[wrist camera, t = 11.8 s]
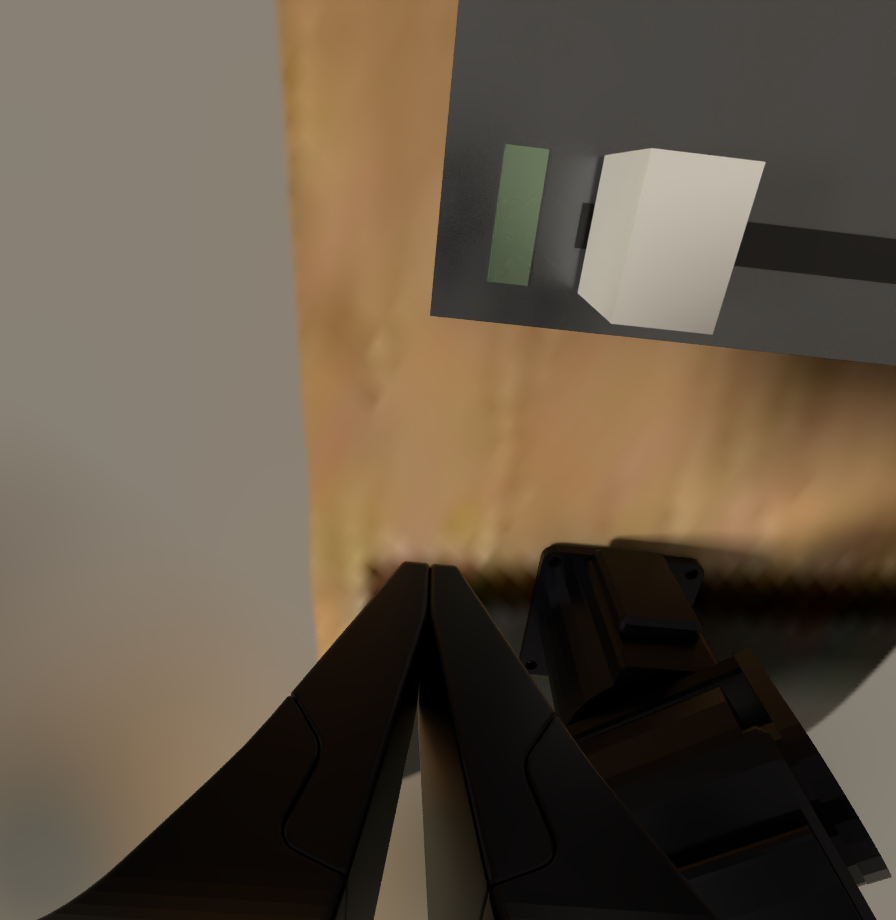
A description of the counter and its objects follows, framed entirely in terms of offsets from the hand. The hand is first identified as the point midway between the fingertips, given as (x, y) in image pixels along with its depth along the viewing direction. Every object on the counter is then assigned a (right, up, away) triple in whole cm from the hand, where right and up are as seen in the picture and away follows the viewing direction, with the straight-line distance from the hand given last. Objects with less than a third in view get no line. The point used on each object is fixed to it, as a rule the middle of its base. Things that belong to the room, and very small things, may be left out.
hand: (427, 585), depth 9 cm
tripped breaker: (+5, +8, +7) cm, 12 cm away
